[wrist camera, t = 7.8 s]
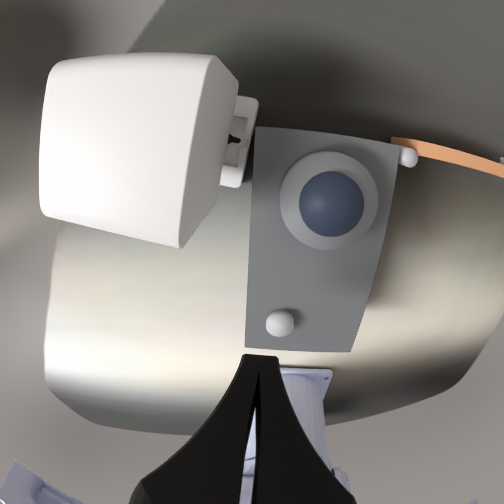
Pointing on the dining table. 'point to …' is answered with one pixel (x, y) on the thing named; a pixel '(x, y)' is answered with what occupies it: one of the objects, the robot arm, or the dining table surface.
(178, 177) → the security camera
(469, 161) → the hatch
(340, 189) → the housing
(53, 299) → the dining table surface
